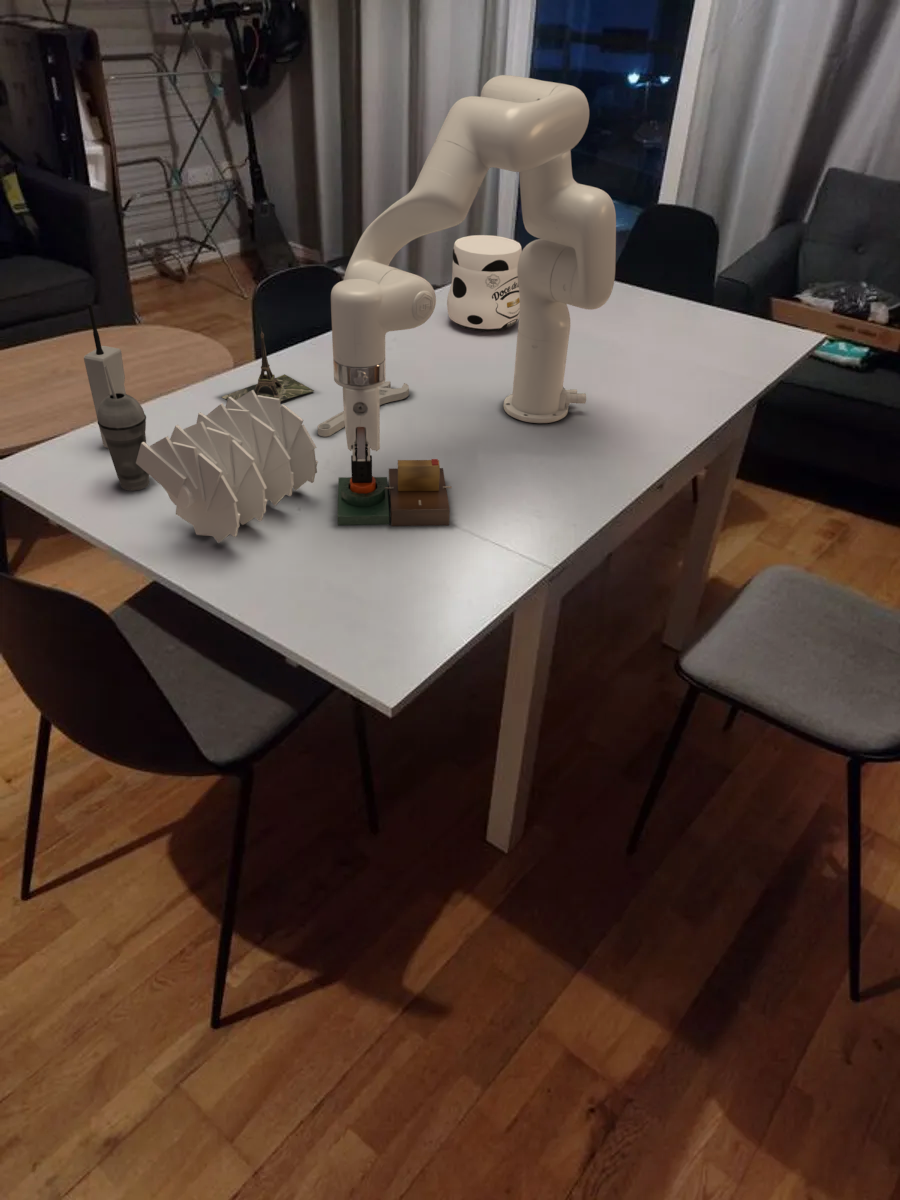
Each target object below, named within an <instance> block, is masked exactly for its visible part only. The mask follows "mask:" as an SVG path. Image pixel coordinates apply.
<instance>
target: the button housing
mask: <svg viewBox="0 0 900 1200" xmlns="http://www.w3.org/2000/svg"><path fill="white" fill-rule="evenodd" d="M351 477H352V476H351ZM351 477H350V476H349V477H347V476H346V477H341V476H340V477H338V481H337V483H338V485H337V487H338V489H337V517H336V518H337V526H377V525H378V526H380V525H384V526H385V525H386V526H387V525H390V500H389V489H385V487H389V483H388V476H373V477H374V478H375V484H376V490H375V491H374V492H370V493H366V494H358V493H355V492H352V491H351V490H350V479H351Z"/></svg>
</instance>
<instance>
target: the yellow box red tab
mask: <svg viewBox="0 0 900 1200" xmlns="http://www.w3.org/2000/svg"><path fill="white" fill-rule="evenodd" d="M397 468H398V491H439V472H440V468H441V465H440V460H439V459H438V458H431V459H398V460H397Z"/></svg>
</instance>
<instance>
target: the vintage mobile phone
mask: <svg viewBox="0 0 900 1200" xmlns="http://www.w3.org/2000/svg"><path fill="white" fill-rule="evenodd" d="M87 308H88V313H89V318H90V323H91V327H92V336H93V340H94V344H95V349H94V350H92V351H89V352H88V353H87V354H85V355H84V356H83V361H84V362H83V363H84V365H85V371H86V375H87V380H88V384H89V388H90V392H91V397H92V401H93V407H94V411H95V415H96V419H97V421H98V409H99V406H100V404H101V402H102V401H103V400H104V399H105V398H106V397H107V396H109V395H111V394H112V392H111V389H110V385H109V382H108V378H107V375H106V371H105V368H104V366H106V365H107V366H108V369H109V373H110V376H111V379H112V383H113V386H114V390H115V393H124V394H127V391H126V386H125V379H126V375H125V369H124V360H123V353H122V349H121V348H117V347H113V346H107V345H102V343H101V338H100V334H99V331H98V328H97V323H96V319H95V314H94V313H95V312H94V309H93V308H94V307H93V304H92V303H91V302H89V303H87ZM98 428H99V433H100V437H101V442H102V446H103V447H104V448H106V449H108V446H107V443H106V440H105V437H104V435H103V433H102V431H101V429H100V426H99V425H98Z"/></svg>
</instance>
